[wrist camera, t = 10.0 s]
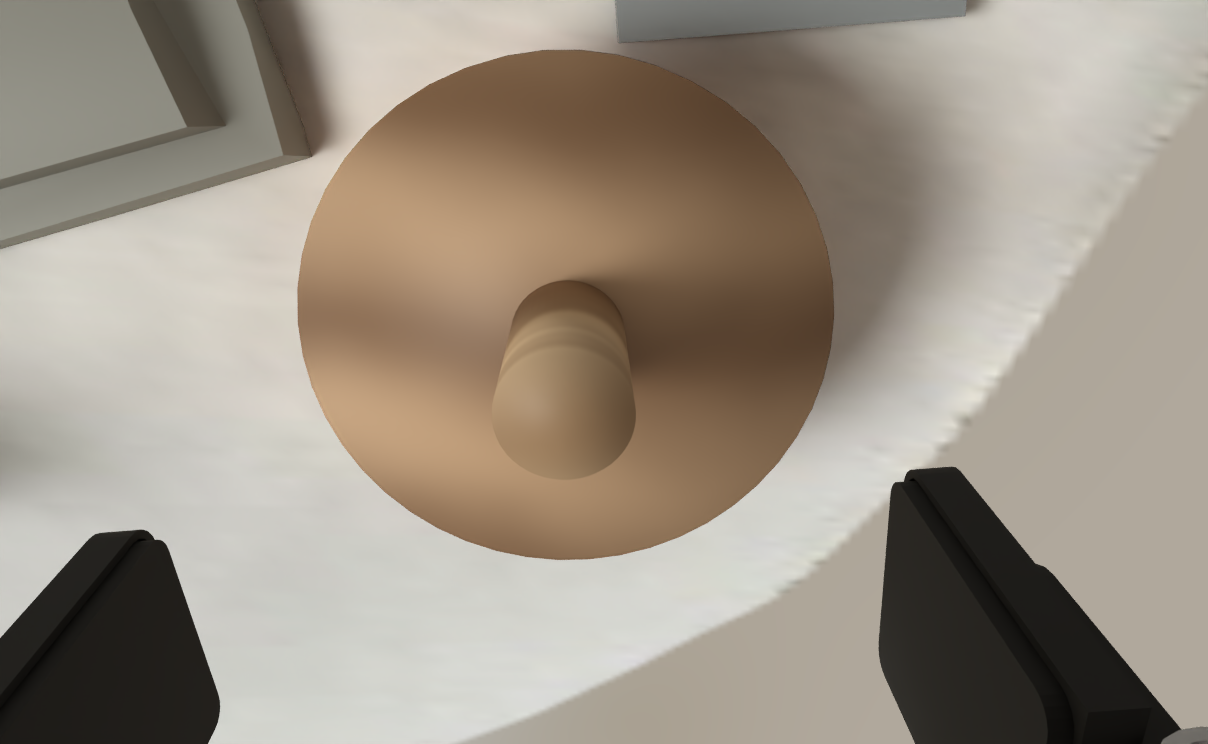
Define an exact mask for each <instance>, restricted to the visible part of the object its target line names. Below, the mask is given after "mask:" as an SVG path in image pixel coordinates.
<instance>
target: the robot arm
mask: <svg viewBox="0 0 1208 744" xmlns="http://www.w3.org/2000/svg"><path fill="white" fill-rule="evenodd" d="M886 547H887V548H886V559H885V571H884V584H883V597H882V609H881V621H880V633H879V657H880V663H881V667H882V670H883V673H884V676H885V678H886V680H887V683H888V685H889V687H890V689H891V691H892V693H893V696H894V698H895V700H896V702H897V704H898V707H899V709H900V711H901V713H902V715H903V718H904V720H905V722H906V724H907V726H908V729H909V731H910V733H911V735H912V737H913V740H914V742H915V744H1208V727H1196V728H1190V729H1183V730H1181V729H1180V727H1179V726H1178V725H1177V724H1176V722H1175V721H1174V720H1173V719H1172V718H1171V716H1170V715H1169V714H1168V713H1167V712H1166V711H1165V709H1164V708H1163V707H1162V705H1161V704H1160V703H1159V702H1158V701H1157V699H1156V698H1155V697H1154V696H1153V695H1152V693H1151V692H1150V691H1149V690H1148V689H1147V687H1146V686H1145V685H1144V684H1143V682H1141V680H1140V679H1139V678H1138V676H1137V675H1136V674H1135V673H1134V672H1133V670H1132V669H1131V668H1130V667H1129V666H1128V664H1127V663H1126V662H1125V661H1124V659H1123V658H1122V657H1121V656H1120V655H1119V653H1118V652H1117V651H1116V650H1115V649H1114V647H1113V646H1112V645H1111V644H1110V643H1109V641H1108V640H1107V639H1106V638H1105V636H1104V635H1103V634H1102V633H1101V632H1100V630H1099V629H1098V628H1097V627H1096V626H1095V625H1094V623H1093V622H1092V621H1091V620H1090V619H1089V617H1088V616H1087V615H1086V614H1085V612H1084V611H1083V610H1082V609H1081V608H1080V606H1079V605H1078V604H1077V603H1076V602H1075V600H1074V599H1073V598H1072V597H1071V595H1070V594H1069V593H1068V592H1067V591H1066V590H1065V588H1064V587H1063V586H1062V584H1061V583H1060V582H1059V581H1058V580H1057V579H1056V577H1055V576H1054V575H1053V574H1052V573H1051V572H1050V571H1049V570H1048V569H1047V568H1045V567H1044V566H1040V565H1038V564H1035V563H1034V562H1033V560H1032V559H1031V558H1030V557H1029V555H1028V554H1027V553H1026V552H1025V550H1024V549H1023V548H1022V547H1021V545H1020V544H1019V543H1018V542H1017V540H1016V539H1015V538H1014V537H1013V536H1012V534H1011V533H1010V532H1009V531H1008V529H1007V528H1006V527H1005V526H1004V525H1003V523H1002V522H1001V521H1000V519H999V518H998V517H997V516H996V515H995V513H994V512H993V511H992V510H991V508H990V507H989V506H988V505H987V503H986V502H985V501H984V500H983V499H982V497H981V496H980V495H979V494H978V493H977V491H976V490H975V489H974V487H973V486H972V485H971V484H970V482H969V481H968V480H967V479H966V478H965V476H964V475H963V474H962V473H961V471H959V470H958V469H957V468H956V467H942V468H929V469H916V470H910V471H908V472H907V474H906V476H905V479H904V482H895V483H894V484H893V486H892V489H891V496H890V510H889V521H888V534H887V546H886ZM219 713H220V700H219V695H218V692H217V689H216V686H215V683H214V680H213V678H212V675H211V672H210V669H209V666H208V663H207V660H206V657H205V654H204V651H203V648H202V646H201V643H200V640H199V637H198V634H197V631H196V628H195V625H194V622H193V619H192V616H191V614H190V611H189V608H188V605H187V602H186V599H185V596H184V593H183V590H182V587H181V584H180V582H179V579H178V576H177V573H176V570H175V567H174V564H173V561H172V558H171V555H170V552H169V550H168V548H167V546H166V544H165V543H164V542H163V541H161V540H154V538H153V536H152V535H151V534H150V533H149V532H148V531H145V530H132V531H119V532H106V533H99V534H95V535H94V536H92V537H91V538H90V539H89V540H88V541H87V542H86V543H85V544H84V545H83V546H82V547H81V549H80V550H79V551H78V552H77V553H76V554H75V555H74V556H73V558H72V559H71V560H70V561H69V562H68V563H67V564H66V565H65V566H64V568H63V569H62V570H61V571H60V572H59V573H58V574H57V575H56V577H55V578H54V579H53V580H52V581H51V582H50V583H49V584H48V585H47V587H46V588H45V589H44V590H43V591H42V592H41V593H40V594H39V595H38V597H37V598H36V599H35V600H34V601H33V602H32V603H31V604H30V606H29V607H28V608H27V609H26V610H25V611H24V612H23V613H22V614H21V616H20V617H19V618H18V619H17V620H16V621H15V622H14V623H13V625H12V626H11V627H10V628H9V629H8V630H7V631H6V632H5V633H4V635H3V636H2V637H1V638H0V744H208V742H209V740H210V738H211V736H212V734H213V732H214V730H215V728H216V725H217V723H218V719H219Z"/></svg>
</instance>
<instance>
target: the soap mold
mask: <svg viewBox="0 0 1208 744" xmlns="http://www.w3.org/2000/svg"><path fill="white" fill-rule="evenodd" d="M310 157H312V156H311V152H310V149H309V145H308V141H307V138H306V134H305V131H304V127H303V124H302V121H301V119H300V116H299V114H298V112H297V109H296V107H295V104H294V102H293V99H292V97H291V94H290V92H289V89H288V87H287V84H286V82H285V79H284V77H283V74H282V71H281V69H280V66H279V64H278V61H277V58H276V56H275V53H274V51H273V48H272V45H271V43H270V40H269V37H268V35H267V32H266V30H265V27H264V24H263V22H262V19H261V16H260V14H259V11H258V9H257V6H256V3H255V1H254V0H0V249H2V248H5V247H9V246H12V245H16V244H19V243H22V242H26V241H29V240H33V239H36V238H40V237H43V236H47V235H50V234H53V233H57V232H60V231H64V230H67V229H71V228H74V227H78V226H81V225H84V224H88V223H91V222H95V221H98V220H102V219H105V218H109V217H112V216H115V215H119V214H122V213H126V212H129V211H133V210H136V209H139V208H143V207H146V206H149V205H153V204H156V203H159V202H163V201H166V200H170V199H173V198H176V197H180V196H183V195H186V194H190V193H193V192H196V191H200V190H203V189H206V188H210V187H213V186H216V185H220V184H223V183H226V182H230V181H233V180H236V179H240V178H243V177H247V176H250V175H253V174H257V173H260V172H263V171H267V170H270V169H273V168H277V167H280V166H283V165H287V164H290V163H293V162H297V161H300V160H303V159H307V158H310Z"/></svg>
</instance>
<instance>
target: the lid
mask: <svg viewBox="0 0 1208 744" xmlns="http://www.w3.org/2000/svg"><path fill="white" fill-rule="evenodd" d="M833 320H834V301H833V280H832V275H831V269H830V263H829V258H828V252H827V247H826V244H825V241H824V238H823V235H822V232H821V229H820V226H819V223H818V220H817V217H816V214H815V212H814V210H813V208H812V206H811V204H810V202H809V200H808V198H807V196H806V194H805V192H804V190H803V188H802V186H801V184H800V182H799V181H798V179H797V178H796V176H795V175H794V173H793V172H792V170H791V169H790V168H789V166H788V165H787V163H786V162H785V160H784V159H783V157H782V156H781V154H780V153H779V152H778V151H777V150H776V149H775V148H774V146H773V145H772V144H771V143H770V142H769V141H768V140H767V139H766V138H765V137H764V135H763V134H762V133H761V132H760V131H759V130H758V129H757V128H756V127H755V126H754V125H753V124H752V123H751V122H749V121H748V120H747V119H746V118H744V117H743V116H742V115H741V114H740V113H738V112H737V111H736V110H735V109H734V108H732V107H731V106H730V105H729V104H728V103H726V102H725V101H723V100H722V99H720V98H718V97H717V96H715V95H713V94H712V93H710V92H709V91H707V90H705V89H704V88H702V87H700V86H699V85H697V84H696V83H694V82H692V81H690V80H688V79H685V78H683V77H681V76H678V75H676V74H674V73H672V72H669V71H667V70H665V69H662V68H660V67H658V66H656V65H653V64H649V63H646V62H642V61H639V60H635V59H631V58H628V57H624V56H621V55H616V54H608V53H601V52H593V51H586V50H541V51H534V52H528V53H521V54H514V55H508V56H504V57H500V58H497V59H494V60H490V61H487V62H484V63H480V64H477V65H473V66H470V67H467V68H464V69H462V70H460V71H458V72H455V73H453V74H451V75H449V76H447V77H445V78H442V79H440V80H438V81H436V82H434V83H432V84H429V85H428V86H426V87H425V88H423V89H422V90H420V91H419V92H417V93H415V94H414V95H412V96H411V97H409V98H408V99H406V100H405V101H403V102H402V103H400V104H398V105H397V106H396V107H395V108H394V109H392V110H391V111H390V112H389V113H388V114H387V115H386V116H384V117H383V118H382V119H381V120H380V121H379V122H378V123H376V124H375V125H374V126H373V127H372V128H371V129H370V130H369V131H368V132H367V133H366V134H365V135H364V136H363V138H362V139H361V140H360V141H359V142H358V143H357V145H356V146H355V147H354V148H353V149H352V150H351V152H350V153H349V154H348V155H347V156H346V158H345V159H344V161H343V162H342V164H341V165H340V167H339V168H338V170H337V172H336V173H335V175H334V176H333V178H332V180H331V181H330V183H329V184H328V186H327V187H326V189H325V192H324V194H323V196H322V198H321V201H320V203H319V205H318V207H317V210H316V212H315V214H314V216H313V219H312V221H311V224H310V228H309V231H308V235H307V239H306V242H305V246H304V249H303V253H302V258H301V266H300V274H299V281H298V326H299V333H300V340H301V346H302V353H303V358H304V361H305V364H306V368H307V371H308V375H309V378H310V381H311V385H312V388H313V390H314V392H315V395H316V397H317V399H318V401H319V404H320V406H321V408H322V410H323V413H324V415H325V417H326V419H327V420H328V422H329V424H330V425H331V427H332V429H333V430H334V432H335V434H336V435H337V437H338V438H339V440H340V442H341V443H342V445H343V446H344V447H345V449H346V450H347V451H348V453H349V454H350V455H351V456H352V458H353V459H354V460H355V461H356V463H357V464H358V465H359V466H360V468H361V469H362V470H363V471H364V472H365V473H366V474H367V475H368V476H369V477H370V478H371V479H372V480H373V481H374V482H375V483H376V484H377V485H378V486H379V487H380V488H381V489H382V490H383V491H384V492H385V493H387V494H388V495H389V496H391V497H392V498H393V499H395V500H396V501H397V502H398V503H400V504H401V505H402V506H404V507H405V508H406V509H407V510H409V511H410V512H412V513H413V514H415V515H417V516H418V517H420V518H422V519H423V520H425V521H427V522H428V523H430V524H432V525H433V526H435V527H437V528H439V529H441V530H443V531H445V532H447V533H450V534H452V535H454V536H456V537H459V538H461V539H463V540H465V541H468V542H471V543H474V544H477V545H480V546H483V547H486V548H489V549H493V550H496V551H500V552H505V553H510V554H515V555H520V556H525V557H533V558H544V559H555V560H571V559H594V558H602V557H609V556H617V555H622V554H627V553H631V552H635V551H639V550H643V549H647V548H651V547H653V546H656V545H659V544H662V543H664V542H667V541H670V540H672V539H675V538H678V537H680V536H682V535H684V534H686V533H688V532H690V531H692V530H694V529H696V528H698V527H700V526H702V525H704V524H706V523H708V522H709V521H711V520H712V519H714V518H715V517H717V516H718V515H720V514H721V513H723V512H724V511H726V510H727V509H729V508H730V507H732V506H733V505H735V504H736V503H737V502H738V501H739V500H740V499H742V498H743V497H744V496H745V495H746V494H748V493H749V492H750V491H751V490H752V489H753V488H755V487H756V486H757V485H758V484H759V483H760V482H761V481H762V480H763V478H764V477H765V476H766V475H767V474H768V473H769V472H770V471H771V470H772V469H773V468H774V467H775V466H776V464H777V463H778V462H779V461H780V459H781V458H782V457H783V455H784V454H785V452H786V451H787V450H788V448H789V447H790V446H791V444H792V443H793V441H794V440H795V439H796V437H797V435H798V433H799V432H800V430H801V428H802V426H803V424H804V422H805V421H806V419H807V417H808V415H809V413H810V411H811V410H812V407H813V404H814V402H815V399H816V397H817V394H818V392H819V389H820V386H821V384H822V381H823V378H824V374H825V370H826V366H827V361H828V357H829V353H830V349H831V340H832V330H833Z"/></svg>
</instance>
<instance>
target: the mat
mask: <svg viewBox="0 0 1208 744" xmlns="http://www.w3.org/2000/svg"><path fill="white" fill-rule="evenodd" d="M966 2H967V0H615V5H616V22H617V38H618V43H627V42H640V41H653V40H665V39H678V38H691V37H704V36H717V35H730V34H742V33H755V32H768V31H781V30H794V29H807V28H819V27H832V26H845V25H858V24H871V23H884V22H896V21H909V20H922V19H935V18H948V17H961V16H965V14H966Z"/></svg>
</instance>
